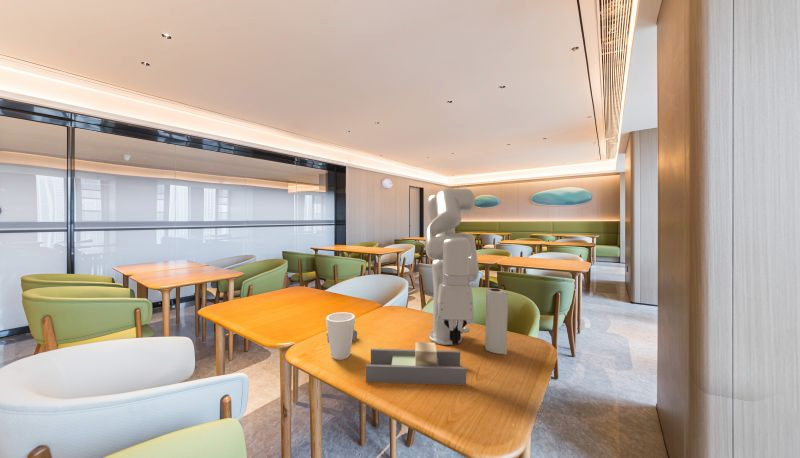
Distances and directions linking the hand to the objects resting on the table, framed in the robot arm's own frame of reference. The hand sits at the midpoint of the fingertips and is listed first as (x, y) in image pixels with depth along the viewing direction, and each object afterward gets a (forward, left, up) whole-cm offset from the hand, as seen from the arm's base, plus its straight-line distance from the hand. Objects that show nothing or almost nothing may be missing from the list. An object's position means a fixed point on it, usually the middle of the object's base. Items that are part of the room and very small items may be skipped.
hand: (454, 342), depth 86 cm
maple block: (+8, -4, -7) cm, 11 cm away
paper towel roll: (-22, -11, -10) cm, 26 cm away
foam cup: (+30, -23, -10) cm, 39 cm away
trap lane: (+10, -5, -10) cm, 15 cm away
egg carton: (+29, -35, -10) cm, 46 cm away
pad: (+14, -6, -10) cm, 18 cm away
